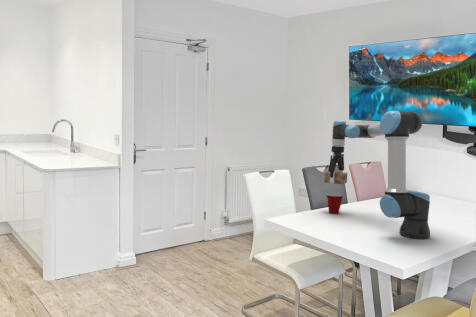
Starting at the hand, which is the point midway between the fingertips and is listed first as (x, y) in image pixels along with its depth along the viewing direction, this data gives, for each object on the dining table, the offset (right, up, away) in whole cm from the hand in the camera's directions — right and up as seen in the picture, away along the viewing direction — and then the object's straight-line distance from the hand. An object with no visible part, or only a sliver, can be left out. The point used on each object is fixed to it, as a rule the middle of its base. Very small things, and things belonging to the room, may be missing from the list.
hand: (335, 181), depth 275 cm
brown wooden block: (0, 0, 0) cm, 0 cm away
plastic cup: (-1, -20, +2) cm, 20 cm away
